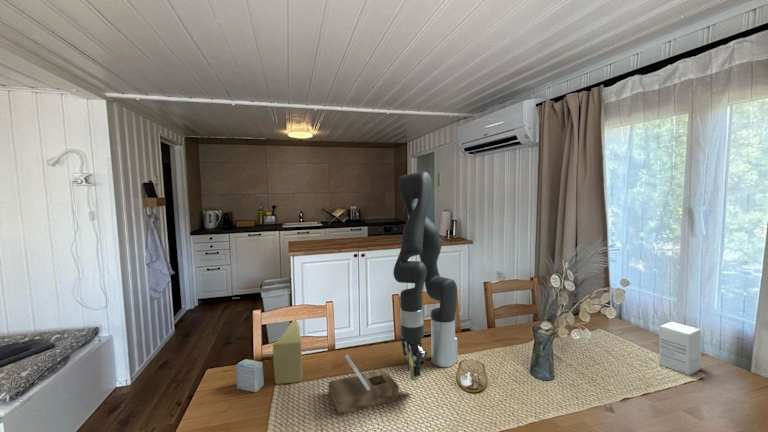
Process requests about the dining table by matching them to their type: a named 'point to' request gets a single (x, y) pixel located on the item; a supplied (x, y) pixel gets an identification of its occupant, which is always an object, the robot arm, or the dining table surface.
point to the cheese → (288, 356)
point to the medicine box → (249, 375)
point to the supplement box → (680, 347)
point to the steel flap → (357, 372)
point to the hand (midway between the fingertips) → (414, 373)
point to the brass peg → (412, 368)
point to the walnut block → (362, 391)
